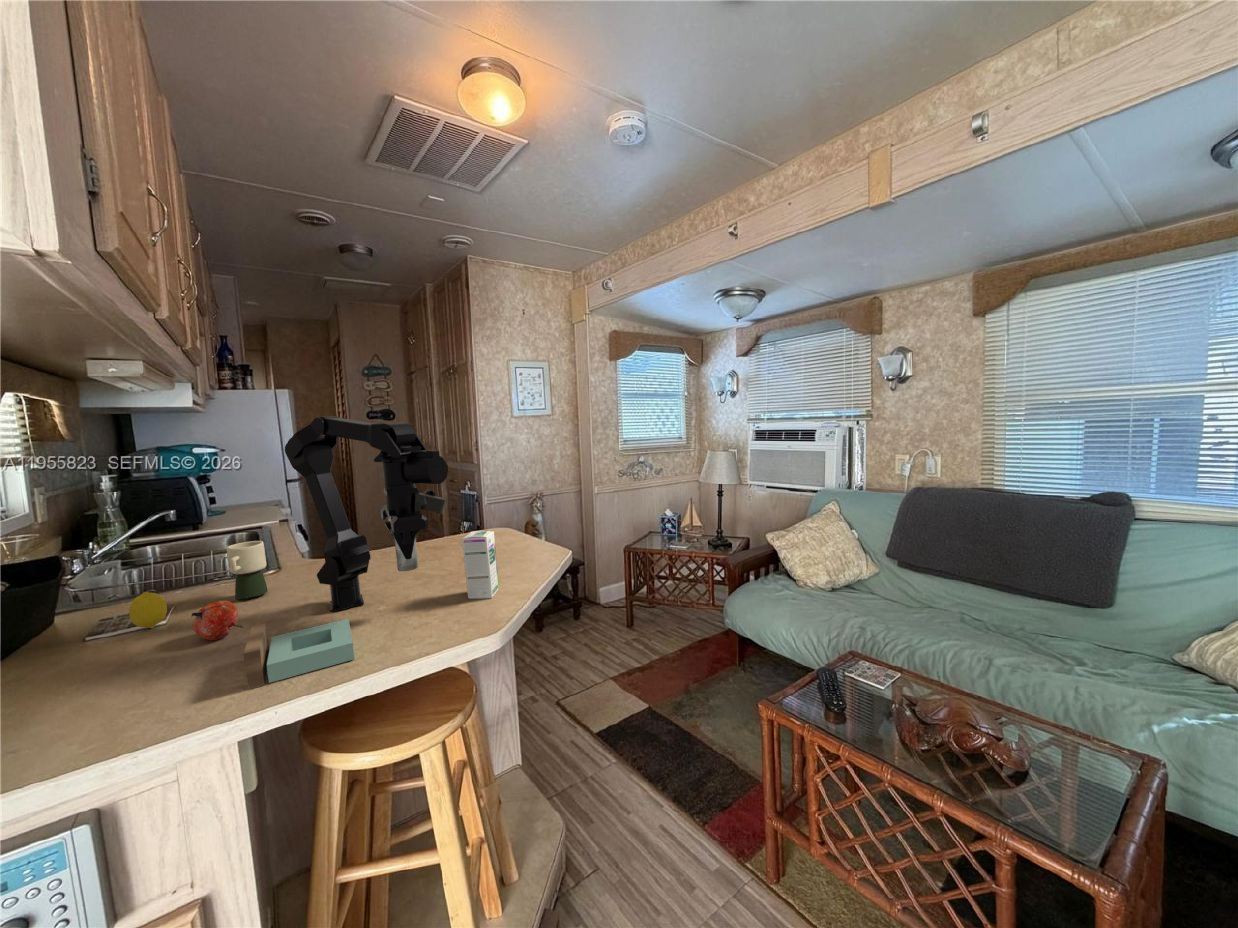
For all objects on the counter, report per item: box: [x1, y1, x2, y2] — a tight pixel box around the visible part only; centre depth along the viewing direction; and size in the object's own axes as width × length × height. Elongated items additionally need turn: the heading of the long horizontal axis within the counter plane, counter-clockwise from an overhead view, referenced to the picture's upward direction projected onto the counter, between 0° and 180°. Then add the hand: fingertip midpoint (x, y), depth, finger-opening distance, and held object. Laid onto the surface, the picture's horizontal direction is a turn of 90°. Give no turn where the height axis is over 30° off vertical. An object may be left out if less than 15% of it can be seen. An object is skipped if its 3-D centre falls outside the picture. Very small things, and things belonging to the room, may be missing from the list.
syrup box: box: [461, 530, 500, 600], centre depth 109 cm, size 6×6×14 cm
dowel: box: [394, 536, 419, 572], centre depth 99 cm, size 4×4×8 cm
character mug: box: [225, 540, 269, 600], centre depth 114 cm, size 11×7×13 cm, turn 8°
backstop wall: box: [243, 622, 270, 691], centre depth 79 cm, size 12×2×6 cm, turn 33°
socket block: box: [267, 618, 355, 684], centre depth 83 cm, size 12×12×3 cm
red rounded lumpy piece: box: [191, 599, 243, 641], centre depth 93 cm, size 7×7×10 cm
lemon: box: [128, 591, 168, 629], centre depth 98 cm, size 6×6×8 cm
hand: (406, 556), depth 99 cm, fingers closed on dowel, 4 cm apart
